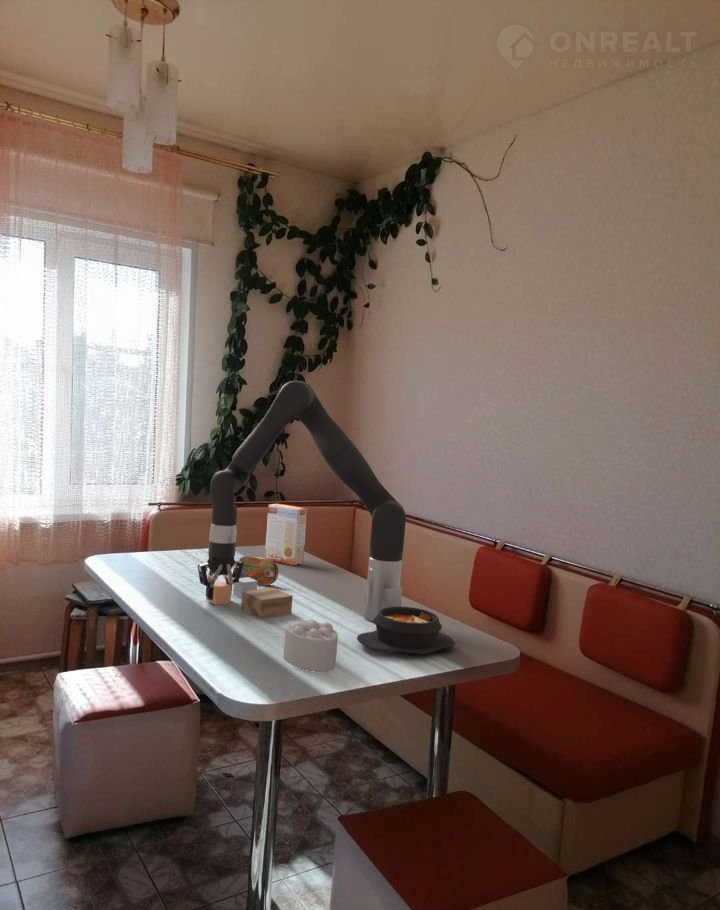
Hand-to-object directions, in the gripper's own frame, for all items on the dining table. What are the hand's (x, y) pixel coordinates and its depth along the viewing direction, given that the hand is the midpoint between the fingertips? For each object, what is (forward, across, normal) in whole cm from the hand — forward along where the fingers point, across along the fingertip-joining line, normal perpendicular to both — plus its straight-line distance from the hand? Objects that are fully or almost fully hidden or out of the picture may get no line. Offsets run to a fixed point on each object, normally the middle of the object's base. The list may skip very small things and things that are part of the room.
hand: (218, 598), depth 204 cm
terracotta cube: (+1, 0, 0) cm, 1 cm away
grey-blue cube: (+1, +10, +2) cm, 10 cm away
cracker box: (+1, +48, +36) cm, 60 cm away
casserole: (+1, +21, -55) cm, 59 cm away
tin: (+1, +22, +14) cm, 26 cm away
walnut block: (+1, +7, -14) cm, 16 cm away
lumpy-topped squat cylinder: (+1, -6, -52) cm, 52 cm away
